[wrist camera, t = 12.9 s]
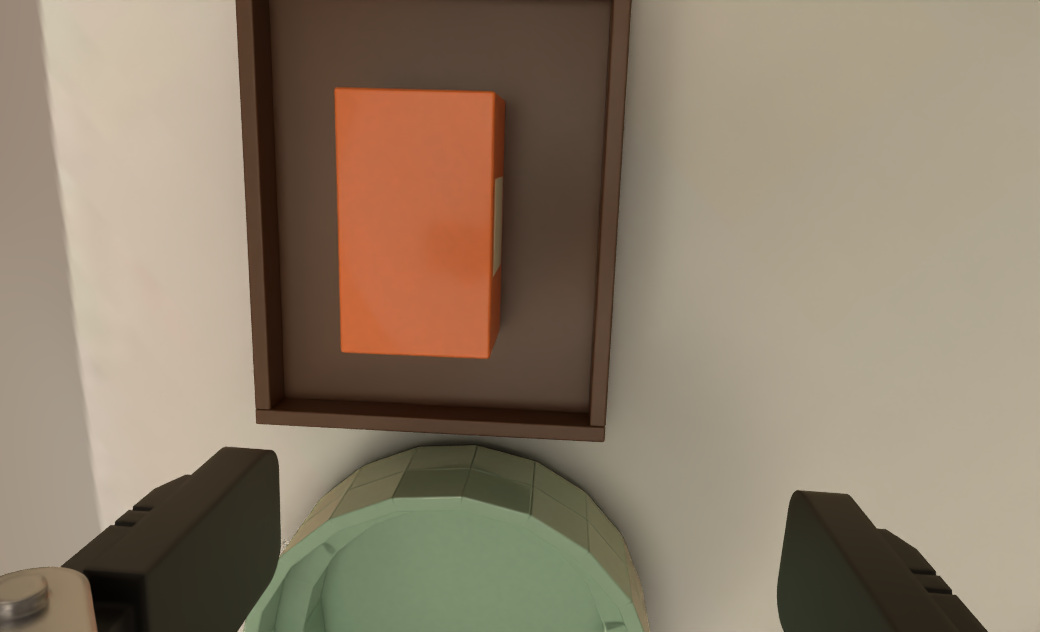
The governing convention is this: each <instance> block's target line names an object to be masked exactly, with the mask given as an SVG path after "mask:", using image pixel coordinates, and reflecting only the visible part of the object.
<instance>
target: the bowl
mask: <svg viewBox="0 0 1040 632" xmlns="http://www.w3.org/2000/svg"><path fill="white" fill-rule="evenodd" d="M243 632H650V629H649V624H648V618H647V612H646V606H645V601H644V595H643V590H642V585H641V582H640V580H639V577H638V575H637V572H636V569H635V567H634V564H633V562H632V559H631V557H630V554H629V551H628V549H627V546H626V544H625V541H624V539H623V537H622V535H621V534H620V532H619V531H618V530H617V529H616V528H615V526H614V525H613V524H612V523H611V522H610V521H609V519H608V518H607V517H606V516H605V515H604V513H603V512H602V511H601V510H600V509H599V508H598V506H597V505H596V504H595V503H594V502H593V500H592V499H591V498H590V497H589V496H588V494H587V493H585V492H584V491H583V490H581V489H580V488H578V487H576V486H575V485H573V484H572V483H570V482H568V481H567V480H565V479H564V478H562V477H560V476H559V475H557V474H556V473H554V472H552V471H551V470H549V469H548V468H546V467H545V466H543V465H541V464H540V463H538V462H537V461H535V462H534V461H533V460H529V459H525V458H522V457H518V456H514V455H511V454H507V453H503V452H500V451H496V450H492V449H489V448H485V447H481V446H477V445H462V446H428V447H418V448H417V447H416V448H413V449H410V450H407V451H404V452H401V453H399V454H396V455H393V456H390V457H387V458H384V459H381V460H378V461H375V462H373V463H370V464H367V465H365V466H362V467H361V468H360V469H358V470H357V471H356V472H354V473H353V474H352V475H351V476H349V477H348V478H347V479H345V480H344V481H343V482H341V483H340V484H339V485H338V486H336V487H335V488H334V489H332V490H331V491H330V492H329V493H327V494H326V495H325V496H323V497H322V498H321V499H320V500H319V502H318V503H317V504H316V506H315V507H314V509H313V510H312V512H311V513H310V514H309V516H308V517H307V519H306V520H305V521H304V523H303V524H302V526H301V527H300V529H299V530H298V531H297V533H296V534H295V536H294V537H293V539H292V540H291V541H290V543H289V544H288V546H287V547H286V549H285V550H284V551H283V553H282V554H281V556H280V557H279V560H278V565H277V568H276V571H275V574H274V577H273V579H272V581H271V582H270V584H269V586H268V587H267V589H266V590H265V592H264V593H263V594H262V596H261V597H260V599H259V600H258V602H257V603H256V605H255V606H254V608H253V609H252V611H251V612H250V613H249V615H248V616H247V618H246V620H245V625H244V630H243Z"/></svg>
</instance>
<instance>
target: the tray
mask: <svg viewBox="0 0 1040 632" xmlns="http://www.w3.org/2000/svg"><path fill="white" fill-rule="evenodd" d="M631 2H632V0H236V18H237V38H238V59H239V79H240V99H241V120H242V140H243V161H244V181H245V201H246V222H247V242H248V262H249V283H250V303H251V323H252V344H253V364H254V384H255V405H256V423H257V424H270V425H289V426H308V427H327V428H346V429H365V430H384V431H403V432H422V433H441V434H460V435H478V436H497V437H516V438H535V439H554V440H573V441H592V442H604V441H605V425H606V409H607V393H608V377H609V360H610V344H611V328H612V311H613V295H614V279H615V263H616V246H617V230H618V214H619V197H620V181H621V165H622V148H623V132H624V116H625V99H626V83H627V67H628V51H629V34H630V18H631ZM336 87H354V88H393V89H431V90H470V91H493V92H495V93H496V94H497V95H499V96H500V97H501V98H502V99H503V100H505V135H504V177H503V219H502V261H501V303H500V330H499V333H498V336H497V338H496V341H495V344H494V347H493V350H492V352H491V355H490V357H489V358H488V359H476V358H454V357H431V356H409V355H386V354H364V353H344V352H342V351H341V335H340V295H339V255H338V215H337V175H336V135H335V96H334V90H335V88H336Z"/></svg>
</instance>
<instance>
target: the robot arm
mask: <svg viewBox="0 0 1040 632" xmlns="http://www.w3.org/2000/svg"><path fill="white" fill-rule="evenodd" d="M280 547H281V528H280V490H279V464H278V459H277V456H276V453H275V452H274V451H273V450H263V449H250V448H236V447H223V448H222V449H220V450H219V451H218V452H217V453H216V454H215V455H214V456H212V457H211V458H210V459H209V460H208V461H207V462H206V463H204V464H203V465H202V466H201V467H200V468H199V469H198V470H196V471H195V472H194V473H193V474H192V475H184V476H182V477H180V478H177V479H175V480H173V481H171V482H168V483H166V484H164V485H162V486H160V487H157V488H155V489H154V490H153V491H151V492H150V493H149V494H148V495H146V496H145V497H144V498H143V499H142V500H140V501H139V502H138V503H137V504H136V505H134V506H133V510H128V511H127V512H126V513H125V514H124V515H122V516H121V517H120V518H119V519H118V520H116V521H115V525H110V526H109V527H108V528H107V529H105V530H104V531H103V532H102V533H101V534H99V535H98V536H97V537H96V538H95V539H93V540H92V541H91V542H90V543H89V544H87V545H86V546H85V547H84V548H83V549H81V550H80V551H79V552H78V553H77V554H75V555H74V556H73V557H72V558H70V559H69V560H68V561H67V562H66V563H64V564H63V565H62V566H61V567H40V568H31V569H26V570H20V571H16V572H12V573H8V574H5V575H2V576H0V632H237V631H238V630H239V628H240V627H241V625H242V624H243V622H244V621H245V619H246V618H247V616H248V615H249V613H250V612H251V611H252V609H253V608H254V606H255V605H256V603H257V602H258V600H259V599H260V597H261V596H262V594H263V593H264V592H265V590H266V589H267V587H268V586H269V584H270V582H271V581H272V579H273V577H274V574H275V571H276V568H277V565H278V560H279V555H280ZM777 605H778V613H779V618H780V622H781V626H782V628H783V631H784V632H988V631H987V630H986V629H985V628H984V627H983V626H982V624H981V623H980V622H979V621H978V620H977V619H976V617H975V616H974V615H973V614H972V613H971V612H970V610H969V609H968V608H967V607H966V606H965V605H964V604H963V602H962V601H961V600H960V599H959V598H958V597H957V595H952V590H951V588H950V587H949V586H948V585H947V584H946V583H945V582H944V580H943V579H942V578H941V577H940V576H936V571H935V570H934V569H933V568H932V566H931V565H930V564H929V563H928V562H927V561H926V559H925V558H924V557H923V556H922V555H921V554H920V553H919V551H918V550H917V549H915V548H914V547H912V546H911V545H909V544H908V543H906V542H905V541H903V540H902V539H900V538H899V537H897V536H895V535H894V534H892V533H891V532H889V531H888V530H886V529H877V528H876V527H875V526H874V525H873V523H872V522H871V521H870V520H869V518H868V517H867V516H866V515H865V513H864V512H863V511H862V510H861V508H860V507H859V506H858V505H857V503H856V502H855V501H854V500H853V498H852V497H851V496H850V495H848V494H840V493H827V492H814V491H800V490H797V491H795V492H794V493H793V495H792V497H791V499H790V503H789V508H788V515H787V521H786V528H785V535H784V542H783V549H782V556H781V562H780V569H779V576H778V584H777Z"/></svg>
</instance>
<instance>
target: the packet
mask: <svg viewBox="0 0 1040 632" xmlns="http://www.w3.org/2000/svg"><path fill="white" fill-rule="evenodd" d="M334 96H335V135H336V175H337V215H338V255H339V295H340V335H341V351H342V352H344V353H364V354H386V355H409V356H431V357H454V358H476V359H488V358H489V357H490V355H491V352H492V350H493V347H494V344H495V341H496V338H497V336H498V333H499V330H500V303H501V261H502V219H503V177H504V135H505V100H503V99H502V98H501V97H500V96H499V95H497V94H496V93H495V92H493V91H470V90H431V89H393V88H354V87H336V88H335V90H334Z"/></svg>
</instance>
